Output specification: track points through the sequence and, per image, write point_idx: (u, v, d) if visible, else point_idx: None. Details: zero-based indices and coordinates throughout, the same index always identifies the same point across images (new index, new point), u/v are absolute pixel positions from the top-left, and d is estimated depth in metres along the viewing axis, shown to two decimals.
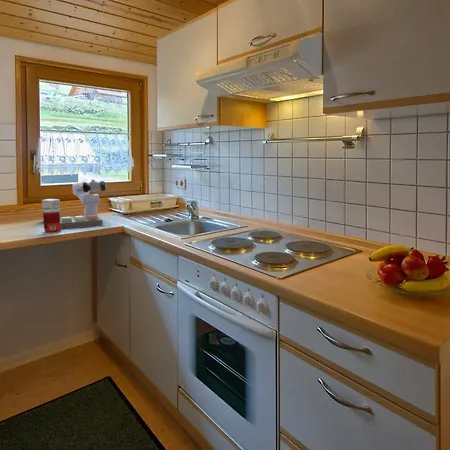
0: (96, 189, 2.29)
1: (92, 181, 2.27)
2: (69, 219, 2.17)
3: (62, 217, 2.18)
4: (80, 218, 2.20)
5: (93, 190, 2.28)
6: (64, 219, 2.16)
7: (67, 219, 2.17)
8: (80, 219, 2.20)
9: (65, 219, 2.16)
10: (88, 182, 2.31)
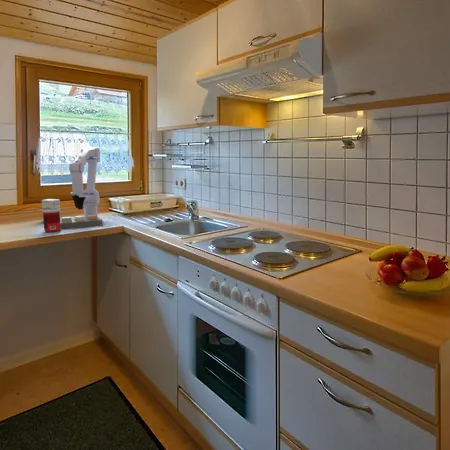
0: None
1: (72, 193, 2.18)
2: (69, 219, 2.17)
3: (62, 217, 2.18)
4: (80, 218, 2.20)
5: None
6: (64, 219, 2.16)
7: (67, 219, 2.17)
8: (80, 219, 2.20)
9: (65, 219, 2.16)
10: None
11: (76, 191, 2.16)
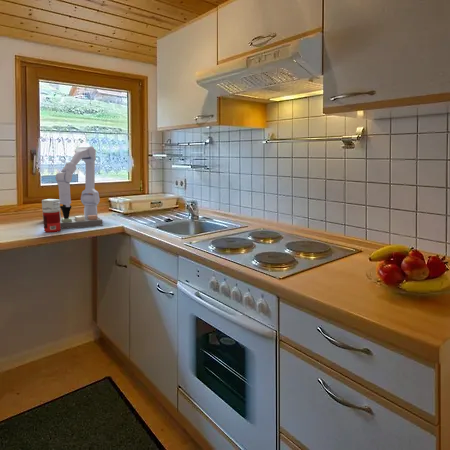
0: (69, 203, 2.16)
1: (59, 203, 2.15)
2: (69, 220, 2.17)
3: (62, 218, 2.18)
4: (80, 218, 2.20)
5: None
6: (64, 220, 2.16)
7: (67, 220, 2.17)
8: (80, 219, 2.20)
9: (65, 220, 2.16)
10: (59, 195, 2.16)
11: (63, 201, 2.14)
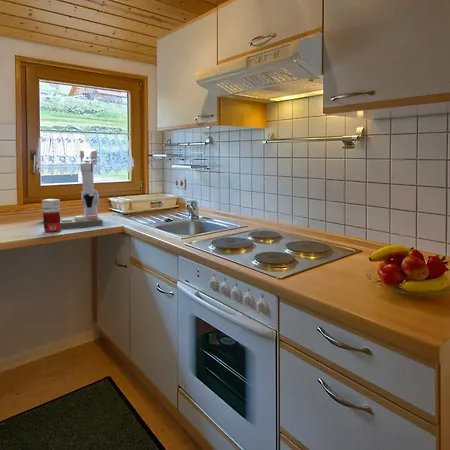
0: None
1: (82, 192, 2.23)
2: (69, 221, 2.17)
3: (62, 219, 2.18)
4: (80, 218, 2.20)
5: None
6: (64, 221, 2.16)
7: (67, 221, 2.17)
8: (80, 219, 2.20)
9: (65, 221, 2.16)
10: None
11: (86, 190, 2.21)
